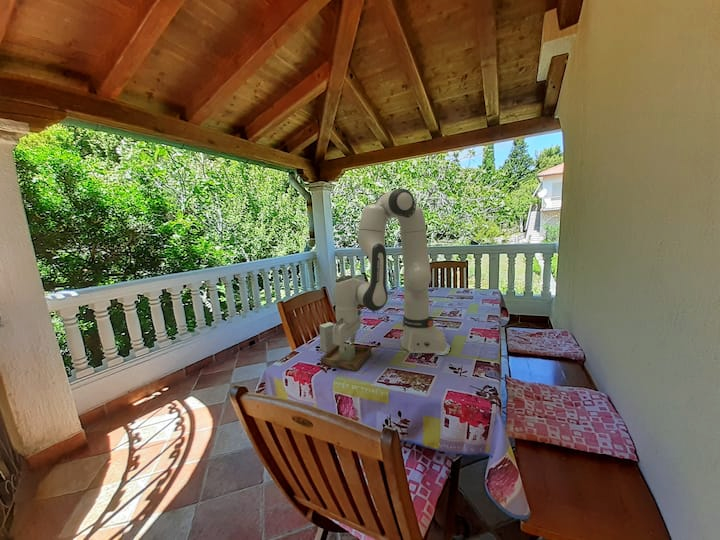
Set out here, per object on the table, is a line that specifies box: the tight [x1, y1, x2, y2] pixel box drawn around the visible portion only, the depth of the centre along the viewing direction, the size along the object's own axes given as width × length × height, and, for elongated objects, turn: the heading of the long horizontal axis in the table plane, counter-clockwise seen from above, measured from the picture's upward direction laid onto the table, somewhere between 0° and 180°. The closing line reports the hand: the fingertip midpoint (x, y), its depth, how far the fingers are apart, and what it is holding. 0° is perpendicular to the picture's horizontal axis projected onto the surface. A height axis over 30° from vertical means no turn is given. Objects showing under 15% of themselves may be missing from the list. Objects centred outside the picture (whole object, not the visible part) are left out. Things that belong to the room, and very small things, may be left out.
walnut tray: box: [320, 343, 373, 373], centre depth 122 cm, size 16×16×3 cm
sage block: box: [339, 343, 355, 362], centre depth 122 cm, size 5×5×5 cm
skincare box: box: [318, 321, 336, 353], centre depth 131 cm, size 6×4×12 cm
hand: (348, 346), depth 121 cm, fingers open, 8 cm apart
